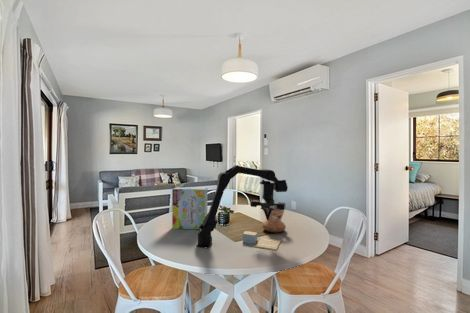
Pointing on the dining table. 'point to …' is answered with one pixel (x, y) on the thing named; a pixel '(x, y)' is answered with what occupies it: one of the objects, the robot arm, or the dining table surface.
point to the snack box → (188, 207)
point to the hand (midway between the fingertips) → (267, 219)
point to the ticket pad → (267, 243)
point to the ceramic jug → (275, 221)
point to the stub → (250, 237)
